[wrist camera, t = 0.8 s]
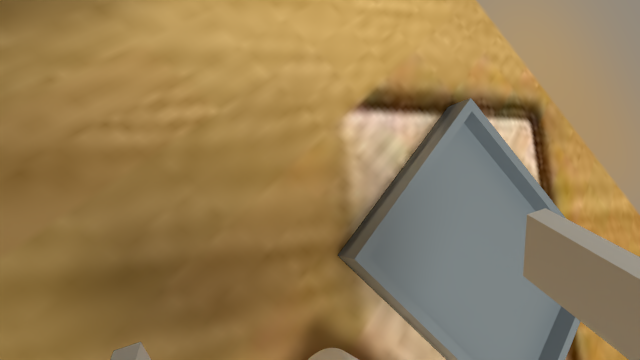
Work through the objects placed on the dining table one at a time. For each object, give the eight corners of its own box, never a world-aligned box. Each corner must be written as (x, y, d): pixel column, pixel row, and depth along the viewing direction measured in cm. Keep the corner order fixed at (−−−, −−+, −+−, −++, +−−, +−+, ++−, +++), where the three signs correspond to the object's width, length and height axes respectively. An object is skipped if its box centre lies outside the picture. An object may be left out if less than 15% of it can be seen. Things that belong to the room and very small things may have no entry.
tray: (337, 255, 25) (354, 259, 23) (448, 106, 31) (470, 97, 29) (507, 417, 30) (535, 434, 28) (575, 262, 36) (602, 265, 34)
